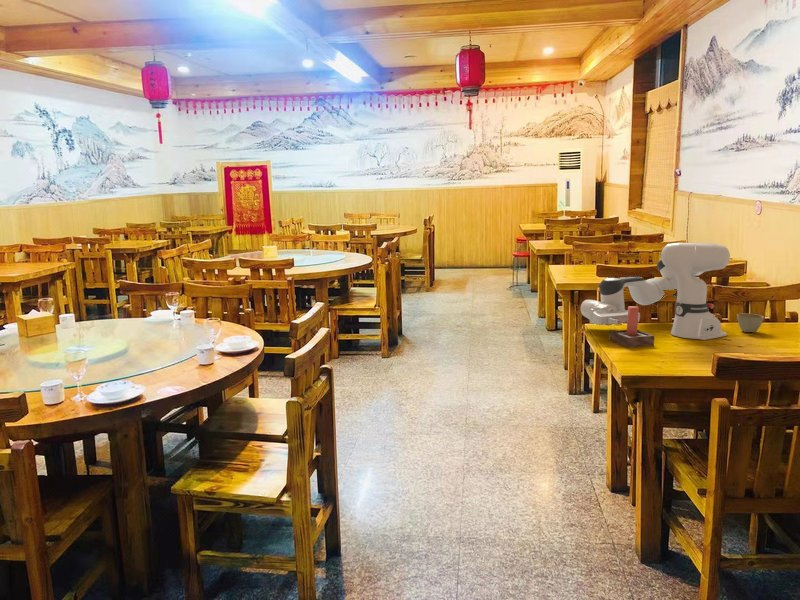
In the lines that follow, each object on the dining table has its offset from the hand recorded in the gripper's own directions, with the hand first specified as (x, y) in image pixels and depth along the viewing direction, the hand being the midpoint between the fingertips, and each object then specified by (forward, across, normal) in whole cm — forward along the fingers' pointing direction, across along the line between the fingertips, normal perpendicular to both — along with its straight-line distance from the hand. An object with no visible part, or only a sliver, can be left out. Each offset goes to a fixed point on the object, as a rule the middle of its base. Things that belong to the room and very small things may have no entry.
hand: (628, 321), depth 255 cm
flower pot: (+4, -59, -9) cm, 60 cm away
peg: (+2, 0, -8) cm, 8 cm away
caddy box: (+2, 0, -8) cm, 9 cm away
